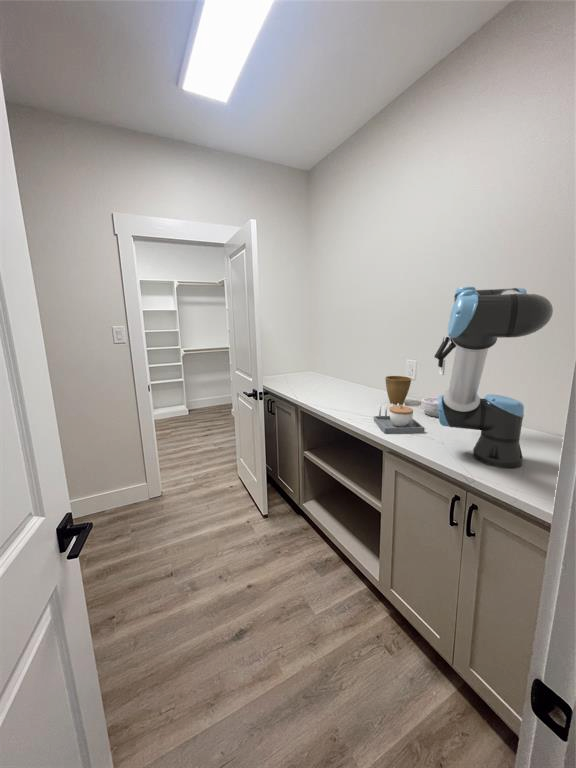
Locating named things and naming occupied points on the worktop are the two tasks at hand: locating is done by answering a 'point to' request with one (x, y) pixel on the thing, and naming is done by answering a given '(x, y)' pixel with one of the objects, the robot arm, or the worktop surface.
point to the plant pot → (397, 388)
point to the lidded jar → (400, 415)
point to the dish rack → (390, 428)
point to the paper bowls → (430, 406)
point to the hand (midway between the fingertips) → (457, 374)
